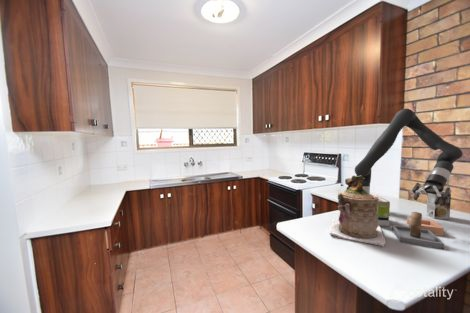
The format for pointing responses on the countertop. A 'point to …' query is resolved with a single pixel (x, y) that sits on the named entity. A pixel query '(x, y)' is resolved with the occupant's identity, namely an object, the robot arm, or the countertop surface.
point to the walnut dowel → (416, 224)
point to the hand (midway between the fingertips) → (425, 201)
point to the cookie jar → (357, 214)
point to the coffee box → (438, 207)
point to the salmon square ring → (429, 226)
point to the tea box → (383, 211)
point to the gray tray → (425, 239)
